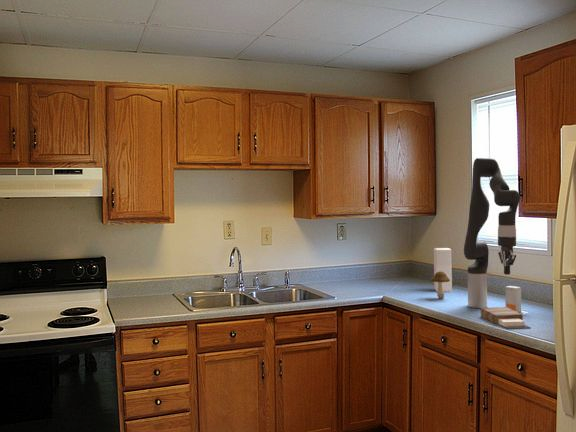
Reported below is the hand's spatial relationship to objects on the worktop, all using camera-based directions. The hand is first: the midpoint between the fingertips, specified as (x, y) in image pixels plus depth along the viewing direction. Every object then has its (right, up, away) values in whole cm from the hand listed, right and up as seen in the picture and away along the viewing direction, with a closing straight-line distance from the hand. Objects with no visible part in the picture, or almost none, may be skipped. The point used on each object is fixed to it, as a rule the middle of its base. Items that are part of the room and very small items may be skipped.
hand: (507, 274), depth 244 cm
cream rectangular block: (0, -21, -5) cm, 22 cm away
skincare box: (+12, -21, +23) cm, 33 cm away
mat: (+1, -22, -7) cm, 23 cm away
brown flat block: (0, -21, +6) cm, 22 cm away
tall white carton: (-5, -19, +84) cm, 86 cm away
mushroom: (-13, -20, +59) cm, 64 cm away
